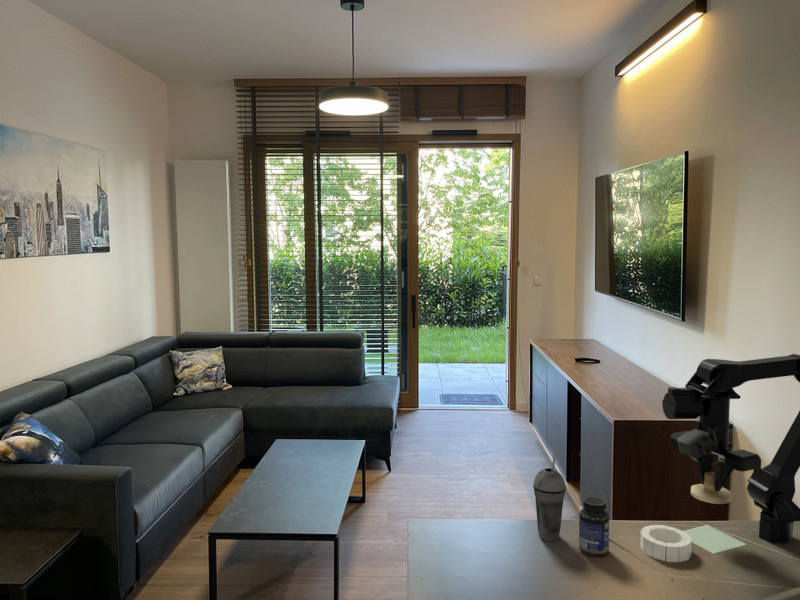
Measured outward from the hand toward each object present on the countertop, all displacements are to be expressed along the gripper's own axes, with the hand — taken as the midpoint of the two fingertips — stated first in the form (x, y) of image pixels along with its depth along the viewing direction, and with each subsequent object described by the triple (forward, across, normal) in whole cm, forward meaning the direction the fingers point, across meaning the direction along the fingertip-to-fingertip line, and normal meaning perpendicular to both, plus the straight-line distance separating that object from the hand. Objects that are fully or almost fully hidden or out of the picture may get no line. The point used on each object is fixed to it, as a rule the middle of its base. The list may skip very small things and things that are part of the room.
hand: (711, 488), depth 130 cm
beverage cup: (+13, -16, -31) cm, 37 cm away
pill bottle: (+13, -7, -26) cm, 30 cm away
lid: (+2, 0, 0) cm, 2 cm away
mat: (+12, 0, 0) cm, 12 cm away
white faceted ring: (+12, 0, -13) cm, 18 cm away
